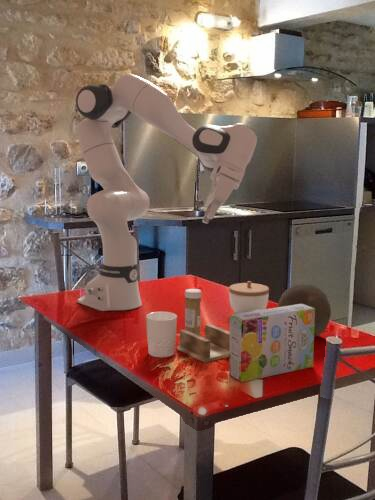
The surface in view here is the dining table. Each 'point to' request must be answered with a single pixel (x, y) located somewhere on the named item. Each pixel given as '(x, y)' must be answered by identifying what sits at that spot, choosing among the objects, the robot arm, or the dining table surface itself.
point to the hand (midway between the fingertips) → (207, 220)
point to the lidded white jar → (248, 297)
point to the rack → (206, 344)
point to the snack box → (271, 341)
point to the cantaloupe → (309, 303)
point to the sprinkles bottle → (192, 311)
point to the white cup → (161, 333)
